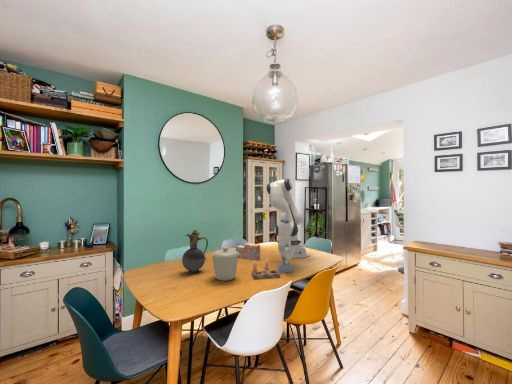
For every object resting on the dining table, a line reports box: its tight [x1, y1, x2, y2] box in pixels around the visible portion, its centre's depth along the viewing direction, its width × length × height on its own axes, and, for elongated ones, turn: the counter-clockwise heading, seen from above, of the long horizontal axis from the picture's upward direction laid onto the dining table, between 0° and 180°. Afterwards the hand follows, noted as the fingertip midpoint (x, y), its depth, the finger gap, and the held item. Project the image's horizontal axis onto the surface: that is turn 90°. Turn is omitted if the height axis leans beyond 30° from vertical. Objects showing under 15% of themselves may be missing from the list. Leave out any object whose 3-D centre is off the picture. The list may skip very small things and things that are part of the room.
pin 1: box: [252, 260, 258, 272], centre depth 177 cm, size 3×3×7 cm
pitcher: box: [181, 229, 209, 275], centre depth 175 cm, size 11×19×30 cm, turn 126°
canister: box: [211, 246, 239, 282], centre depth 162 cm, size 18×18×21 cm
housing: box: [276, 257, 294, 274], centre depth 175 cm, size 10×5×10 cm, turn 101°
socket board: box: [251, 269, 281, 280], centre depth 165 cm, size 18×8×2 cm, turn 101°
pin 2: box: [264, 259, 269, 271], centre depth 180 cm, size 3×3×7 cm
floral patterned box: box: [235, 242, 261, 261], centre depth 211 cm, size 21×6×12 cm, turn 57°
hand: (284, 261), depth 175 cm, fingers open, 7 cm apart
